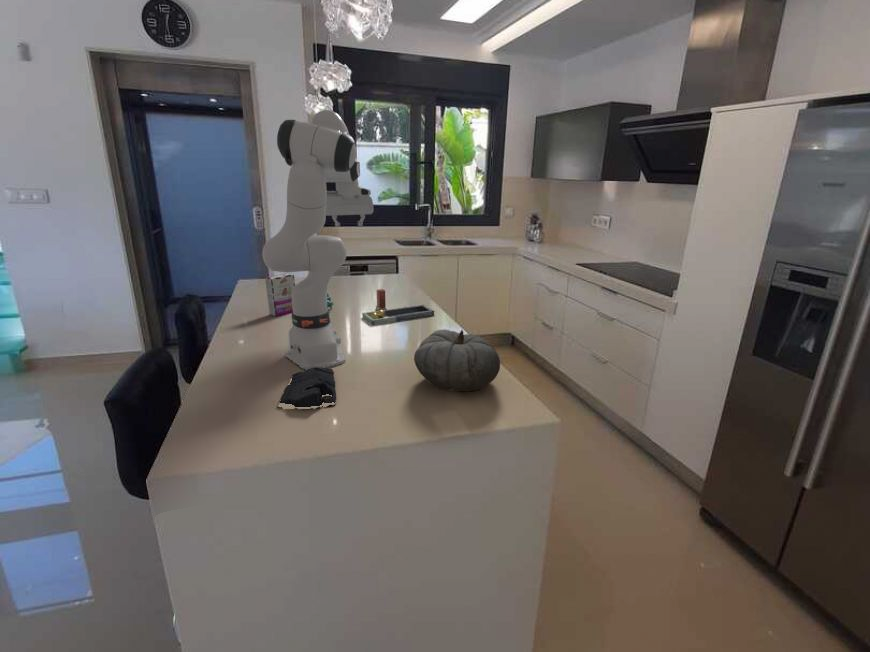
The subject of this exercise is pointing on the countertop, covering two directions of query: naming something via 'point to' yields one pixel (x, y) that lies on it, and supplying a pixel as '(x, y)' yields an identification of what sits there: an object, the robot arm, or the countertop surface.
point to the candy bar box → (280, 293)
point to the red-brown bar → (381, 300)
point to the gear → (329, 302)
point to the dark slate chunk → (310, 388)
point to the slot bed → (410, 312)
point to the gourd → (457, 361)
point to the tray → (378, 321)
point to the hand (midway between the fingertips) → (349, 226)
